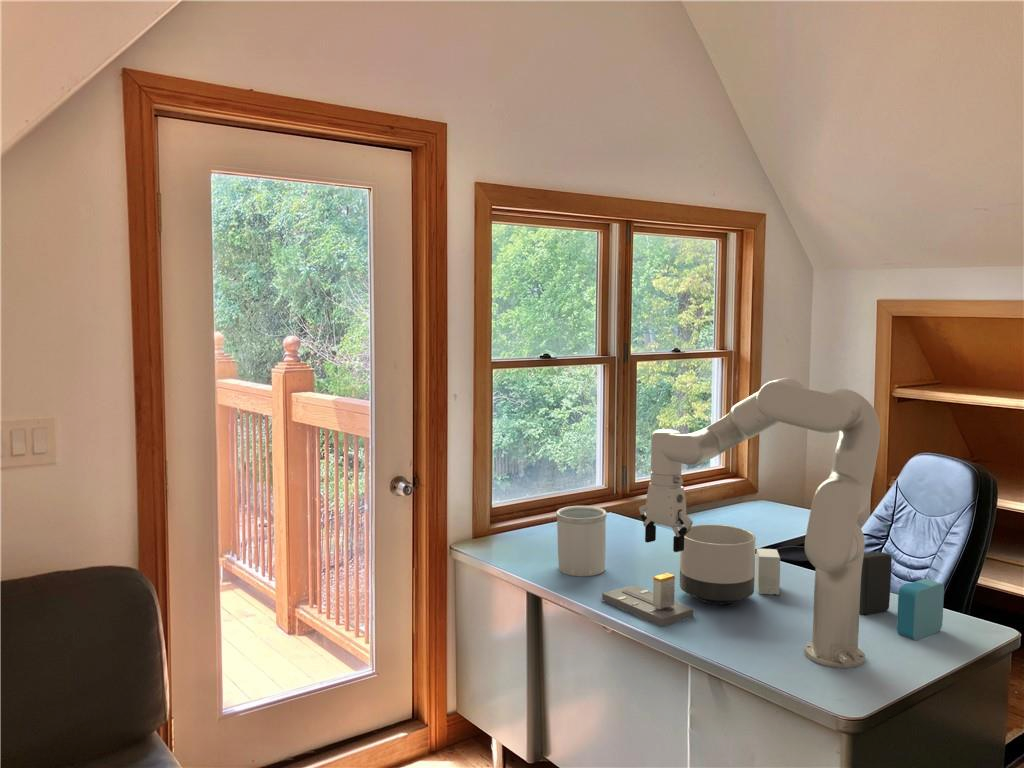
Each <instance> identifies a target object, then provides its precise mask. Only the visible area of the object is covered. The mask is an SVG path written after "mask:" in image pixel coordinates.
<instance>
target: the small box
mask: <svg viewBox="0 0 1024 768" xmlns="http://www.w3.org/2000/svg"><path fill="white" fill-rule="evenodd" d="M755 565H756V566H755V585H756V590H757V592H758V594H759V595H760V594H761V595H773V594H776V595H778V596H779V595H780V590H781V589H780V583H781V581H780V580H781V556H780V554H779V552H778V549H773V548H758V547H757V548H756V552H755ZM776 595H775V596H776Z"/></svg>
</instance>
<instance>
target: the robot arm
mask: <svg viewBox="0 0 1024 768" xmlns="http://www.w3.org/2000/svg"><path fill="white" fill-rule="evenodd" d="M779 423H783V424H787V425H790V426H794V427H799V428H801V429H807V430H809V431H813V432H819V433H824V434H833V433H837V432H838V440H837V443H836V446H835V450H834V455H833V461H832V466H831V471H830V473H829V476H828V478H827V479H825V480H823V481H822V482H821V484H819V486H817V489H816V490H815V492H814V494H813V495H814V496H813V498H812V501H811V506H810V513H809V517H808V522H807V527H806V532H805V537H804V538H805V539H804V553H805V555H806V558H807V560H808V561H809V563H810V564H811V565H812V566H813V567H814V568H815V570H814V571H815V572H814V585H813V586H814V587H813V588H814V590H813V610H812V611H813V617H812V638H811V639H812V641H810V642H808V643H807V644H806V645H805V647H804V653H805V656H806V657H807V658H809V659H810V660H811V661H813V662H815V663H818V664H821V665H824V666H827V667H831V668H832V667H833V668H840V669H852V668H857V667H860V666H862V665H864V663H865V662H866V654H865V653H864V651H863V650H861V649H860V648H859V629H860V614H859V610H860V590H861V573H862V564H863V557H864V554H865V548H866V547H865V546H866V542H865V540H866V539H865V535H864V532H863V530H862V528H861V527H860V525H859V524H858V520H859V516H860V514H861V513H862V512H863V511H864V510H866V508H867V507H868V505H869V503H870V500H871V494H872V493H871V492H872V486H873V482H874V477H875V476H874V475H875V471H876V465H877V458H878V454H879V453H878V452H879V449H880V442H881V425H880V419H879V415H878V414H877V411H876V409H875V408H874V406H873V405H872V404H871V403H870V402H869V401H868V400H867V399H866V397H864V396H862V395H861V394H860V393H858V392H856V391H854V390H851V389H846V388H836V389H832V390H831V391H827V392H822V391H818V390H813V389H809V388H805V386H804V385H803V384H802V382H800V381H799V380H797V379H795V378H792V377H782V378H779V379H774V380H771V381H768V382H766V383H764V384H763V385H762V386H761V387H760V389H759V390H758V391H756V392H755V393H753V394H751V395H750V396H748V397H747V398H745V399H743V400H741V401H739V402H737V403H736V404H734V405H733V406H732V407H731V408H730V411H729V412H728V413H727V414H726V415H724V416H723V417H722V418H719V419H718V420H716V421H715V422H713V423H711V424H710V425H708V426H706V427H704V428H702V429H699V430H696V431H693V432H690V433H686V434H685V433H684V434H682V433H681V432H680V431H678V430H675V429H667V428H666V429H665V428H661V429H655V430H654V431H653V432H652V433H651V445H650V449H651V450H650V451H651V452H650V453H651V454H650V482H649V484H648V487H647V494H646V503H645V504H643V505H640V506H639V507H638V511H639V513H640V518H641V520H642V521H643V527H645V529H644V530H645V531H644V532H645V535H644V542H645V543H652V542H655V541H656V537H657V526H656V524H658V525H661V526H664V527H667V528H671V529H672V530H673V533H674V534H675V535H673V540H672V541H673V544H672V545H673V546H672V547H673V549H672V550H673V552H674V553H680V551H683V550H684V535H687V533H688V532H689V531H690V528H691V526H693V522H694V521H693V519H691V518H690V517H689V516H688V515H687V501H686V494H685V493H686V492H685V488H684V486H683V483H684V479H683V478H682V469H683V467H682V465H688V466H695V465H699V464H701V463H704V462H705V461H708V460H709V461H710V460H712V459H713V458H715V457H717V456H719V455H721V454H722V453H724V452H726V451H728V450H730V449H731V448H734V447H735V446H737V445H739V444H741V443H743V442H745V441H746V440H751V439H753V438H754V437H756V436H757V435H759V434H761V433H763V432H765V431H766V430H768V429H771V428H772V427H773V426H776V425H777V424H779Z"/></svg>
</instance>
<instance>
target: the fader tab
mask: <svg viewBox="0 0 1024 768" xmlns="http://www.w3.org/2000/svg"><path fill="white" fill-rule="evenodd" d="M675 578H676V575H674V574H672V573H669V572H666V573H663V574H658V575H654V576H653V578H652V579H653V581H652V582H653V585H652V586H653V589H652V593H653V607H655V608H658V609H660V610H661V609H664V608H667V607H670V606H674V601H675V591H676V590H675V584H676V583H675V581H676V579H675Z"/></svg>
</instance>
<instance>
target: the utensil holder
mask: <svg viewBox="0 0 1024 768" xmlns="http://www.w3.org/2000/svg"><path fill="white" fill-rule="evenodd" d="M555 516H556V526H557V527H556V529H557V531H556V532H557V557H558V561H557V562H558V570H559V571H560V572H561V573H562V574H565V575H568V576H571V577H592V576H598V575H600V574H602V573H603V572H604V571H605V570H606V552H607V551H606V542H607V541H606V539H607V538H606V535H607V534H606V532H607V531H606V527H607V526H606V519H607V511H606V510H605V509H603V508H602V507H597V506H593V505H572V506H570V505H569V506H565V507H562V508H559V509H558V510H557V511H556V513H555Z"/></svg>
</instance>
